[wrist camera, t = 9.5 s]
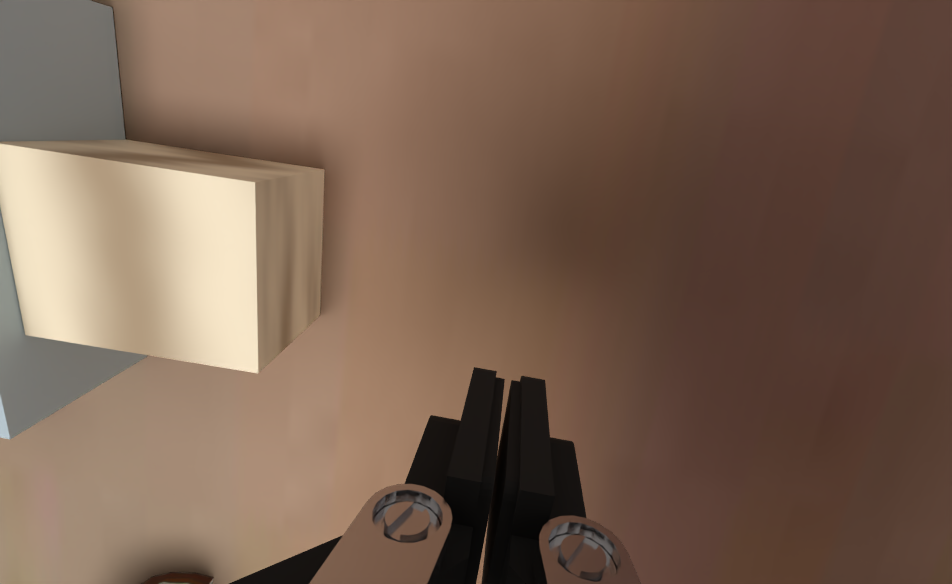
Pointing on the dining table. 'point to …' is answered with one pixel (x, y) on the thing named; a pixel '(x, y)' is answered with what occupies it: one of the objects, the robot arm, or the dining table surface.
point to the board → (53, 119)
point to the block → (163, 248)
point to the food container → (180, 578)
